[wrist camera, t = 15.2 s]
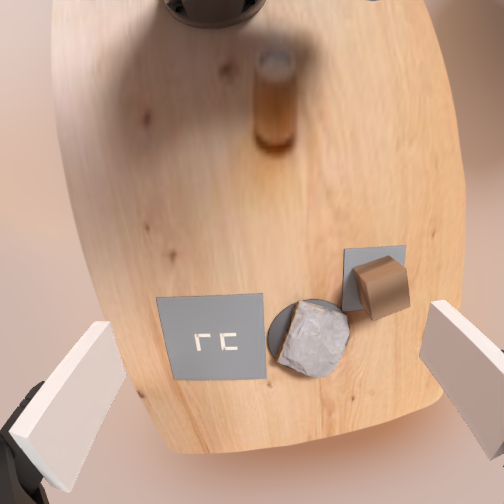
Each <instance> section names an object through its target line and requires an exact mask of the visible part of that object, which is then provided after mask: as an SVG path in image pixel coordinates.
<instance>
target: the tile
mask: <svg viewBox="0 0 504 504" xmlns="http://www.w3.org/2000/svg"><path fill="white" fill-rule="evenodd" d="M405 250H406V245H403V246H386V247H368V248H351V249H344V277H343V296H342V312H346V311H356V310H365V309H364V308H363V306H362V305H361V303H360V300H359V295H358V290H357V285H356V280H355V276H354V271H353V267H356V266H359V265H362V264H365V263H368V262H371V261H374V260H377V259H380V258H382V257H385V256H388V255H389V256H391V257H392V258H393V259H394V260H396V261H397V262H398V263H399V264H401V265H402V266H403V267H404V262H405Z"/></svg>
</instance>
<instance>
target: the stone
mask: <svg viewBox="0 0 504 504" xmlns="http://www.w3.org/2000/svg"><path fill="white" fill-rule="evenodd" d="M347 320H348V317H347V315H345V314H343V313H340V312H337V311H334V310H331V309H328V308H325V307H323V306H320V305H316V304H312V303H307V302H304V301H301V300H299V301H298V302H297V305H296V307H295V309H294V311H293V314H292V316H291V318H290V320H289V323H288V326H287V331H286V334H285V336H284V339H283V341H282V344H281V347H280V348H279V350H278V352H277V354H276V358H275V361H276V362H278V363H280V364H282V365H287V366H289V367H291V368H293V369H295V370H296V371H297V372H300V373H303V374H305V375H307V376H310V377H315V378H318V377H325V376H327V375H329V374H330V373H332V372H333V371H334V370H335V368H336V366H337V364H338V362H339V360H340V359H341V357H342V354H343V351H344V349H345V344H346V342H347V339H348V336H349V334H350V329H349V327H348V323H347Z"/></svg>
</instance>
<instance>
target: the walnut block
mask: <svg viewBox="0 0 504 504" xmlns="http://www.w3.org/2000/svg"><path fill="white" fill-rule="evenodd" d="M353 271H354V276H355V280H356V285H357V290H358V295H359V300H360V303H361V305H362V306H363V308H364V309H365V310H366V312H367V313H368V315H369V316H370V318H371V319H372V321H375V320H377V319H380V318H383V317H385V316H388V315H391V314H393V313H396V312H398V311H401V310H403V309H406V308H408V307H411V306H410V296H409V287H408V279H407V271H406V268H405V267H403V266H402V265H401V264H399V263H398V262H397V261H396V260H394V259H393V258H392V257H391V256H389V255H388V256H385V257H382V258H380V259H377V260H374V261H371V262H368V263H365V264H362V265H359V266H356V267H353Z"/></svg>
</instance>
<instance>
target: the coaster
mask: <svg viewBox="0 0 504 504" xmlns="http://www.w3.org/2000/svg"><path fill="white" fill-rule="evenodd" d="M303 301H304V302H307V303H312V304H316V305H320V306H323V307H325V308H328V309H331V310H334V311H337V312H340V313H343V312H342V310H341V309H340V308H338V307H337V306H336V305H334V304H332V303H330V302H328V301H324V300H318V299H309V300H303ZM296 305H297V302H296V303H294V304H292V305H290V306H288V307H287V308H285V309H284V310H282V311H281V312H280V313H279V314H278V315H277V316H276V318H275V319H274V320H273V322H272V324H271V326H270V329H269V334H268V343H269V348H270V351H271V353H272V355H273V356H274V358H276V354H277V352H278V350H279V348H280V347H281V344H282V341H283V339H284V336H285V334H286V331H287V326H288V323H289V320H290V318H291V316H292V314H293V311H294V309H295V307H296ZM343 314H344V313H343ZM347 323H348V320H347ZM348 327H349V323H348ZM349 329H350V327H349ZM349 335H350V334H349ZM348 340H349V336H348V339H347V342H346V344H345V347H346V345H347V343H348ZM284 366H286V367H288V368H291V367H289V366H287V365H284ZM291 369H293V368H291Z"/></svg>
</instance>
